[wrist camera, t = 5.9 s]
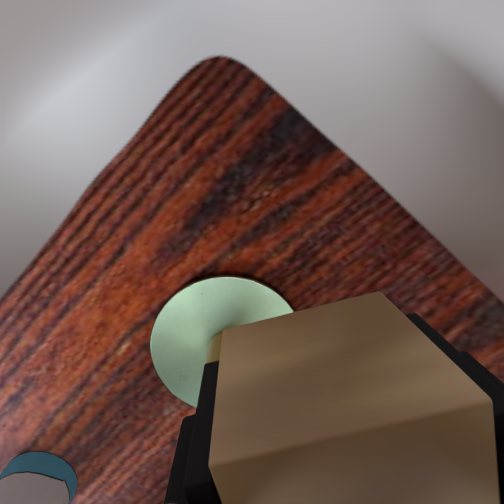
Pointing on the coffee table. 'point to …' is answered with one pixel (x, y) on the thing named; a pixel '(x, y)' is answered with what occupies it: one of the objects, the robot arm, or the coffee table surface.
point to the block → (348, 413)
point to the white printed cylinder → (37, 480)
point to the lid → (206, 327)
